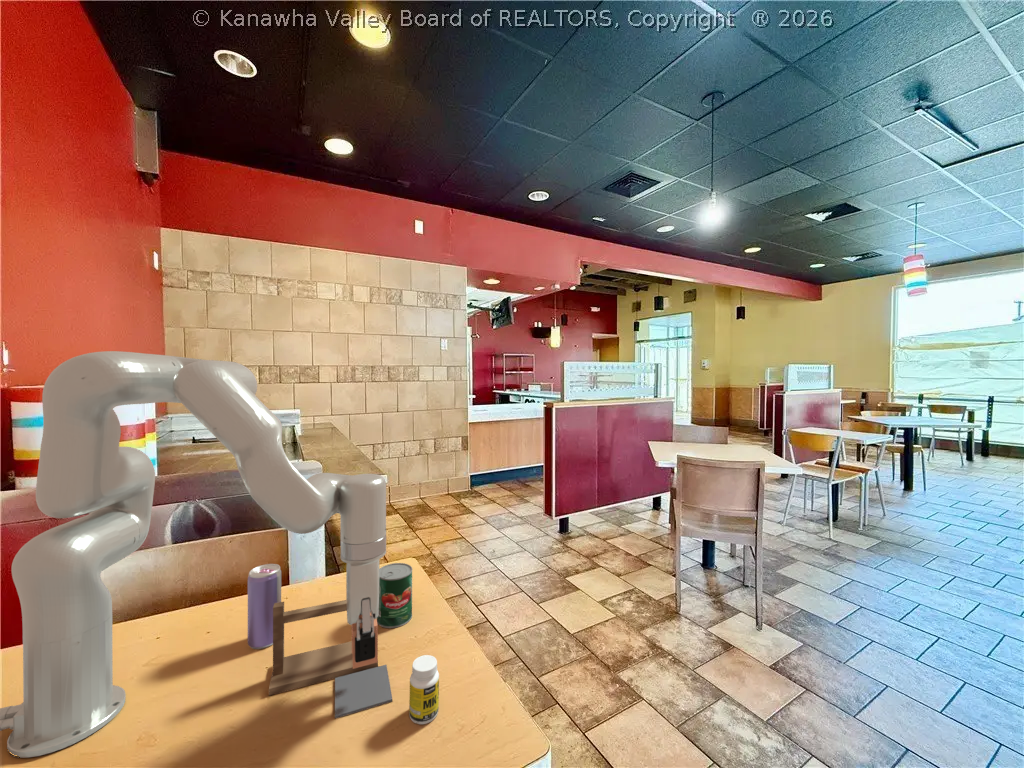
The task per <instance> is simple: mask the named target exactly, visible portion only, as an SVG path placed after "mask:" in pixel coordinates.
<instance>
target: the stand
mask: <svg viewBox="0 0 1024 768" xmlns="http://www.w3.org/2000/svg"><path fill="white" fill-rule="evenodd" d="M342 612H347V600H346V599H343V600H338V601H333V602H328V603H322V604H317V605H312V606H308V607H302V608H297V609H291V610H287V611H285V601H281V602H279V603H274V606H273V645H272V672H271V677H270V682H269V688H268V696H272V695H276V694H280V693H281V694H282V693H284V692H287V691H288V692H289V691H292V690H293V691H294V690H296V689H300V688H303V687H308V686H311V685H315V684H319V683H322V682H326V681H330V680H335V678H337V677H341V676H345V675H349V674H352V673H356V672H360V671H364V670H367V669H371V668H375V667H379V661H378V662H377V663H373V664H370V665H366V666H362V667H358V668H355V669H353V654H352V640H351V641H348V642H344V643H340V644H339V643H337V644H334V645H331V646H330V645H329V646H326V647H322V648H318V649H314V650H309V651H305V652H301V653H296V654H292V655H287V656H285V624H288V623H292V622H293V623H294V622H298V621H304V620H308V619H312V618H313V619H314V618H319V617H324V616H326V615H327V616H328V615H332V614H337V613H338V614H339V613H342Z"/></svg>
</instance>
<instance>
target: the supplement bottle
mask: <svg viewBox="0 0 1024 768" xmlns="http://www.w3.org/2000/svg"><path fill="white" fill-rule="evenodd" d="M411 666H412V670H411V674H410V677H409V701H408V703H409V706H408V708H409V710H408V714H409V719H410V720H411V722H413V723H414V724H418V725H426V724H429V723H431V722H432V721H433V720H435V719H436V717H437V715H438V713H439V709H440V708H439V703H440V702H439V701H440V700H439V698H440V697H439V695H440V692H439V691H440V673H439V670H438V659H437V658H436V657H435V656H433V655H430V654H429V655H428V654H424V655H421V656H418V657H416V658H415V659H414V660H413V661H412V665H411Z"/></svg>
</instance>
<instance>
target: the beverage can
mask: <svg viewBox="0 0 1024 768" xmlns="http://www.w3.org/2000/svg"><path fill="white" fill-rule="evenodd" d="M279 602H282V570H281V566H280V565H279V564H277V563H265V564H261V565H258V566H256V567H254V568H252V569H251V570H249V572H248V576H247V645H248V646H249V648H251V649H252V650H262V649H265V648H269V647H272V646H273V606H274V603H279Z"/></svg>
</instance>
